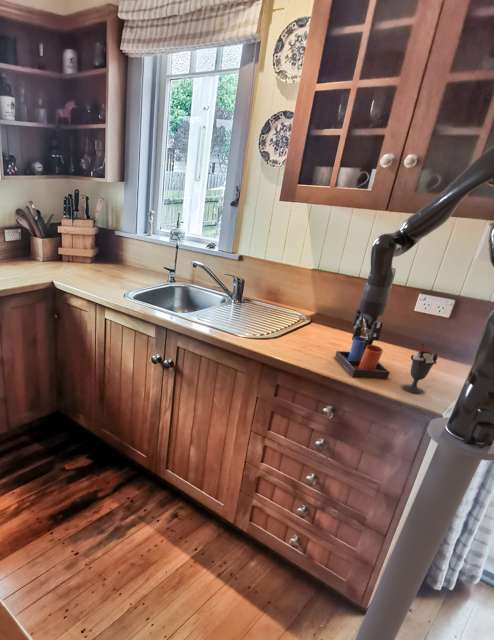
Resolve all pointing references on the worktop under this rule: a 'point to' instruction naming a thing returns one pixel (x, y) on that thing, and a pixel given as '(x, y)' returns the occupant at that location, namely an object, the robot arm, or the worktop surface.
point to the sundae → (420, 368)
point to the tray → (353, 369)
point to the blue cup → (357, 349)
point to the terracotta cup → (370, 357)
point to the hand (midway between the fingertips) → (360, 345)
